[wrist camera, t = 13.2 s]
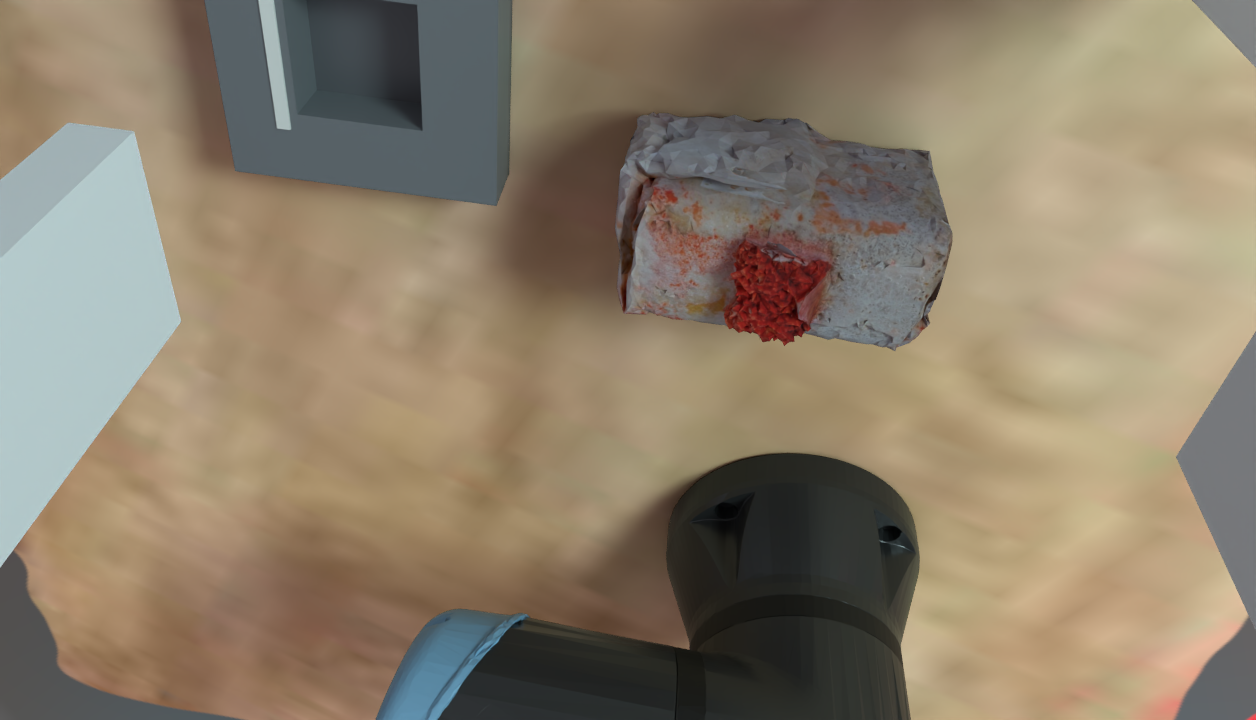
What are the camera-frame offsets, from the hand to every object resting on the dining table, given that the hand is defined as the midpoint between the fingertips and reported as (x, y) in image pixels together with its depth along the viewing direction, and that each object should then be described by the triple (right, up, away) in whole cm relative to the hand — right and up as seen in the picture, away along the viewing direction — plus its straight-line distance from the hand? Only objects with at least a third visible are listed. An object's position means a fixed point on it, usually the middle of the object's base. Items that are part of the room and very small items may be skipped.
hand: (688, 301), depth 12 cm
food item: (+6, +8, +34) cm, 36 cm away
